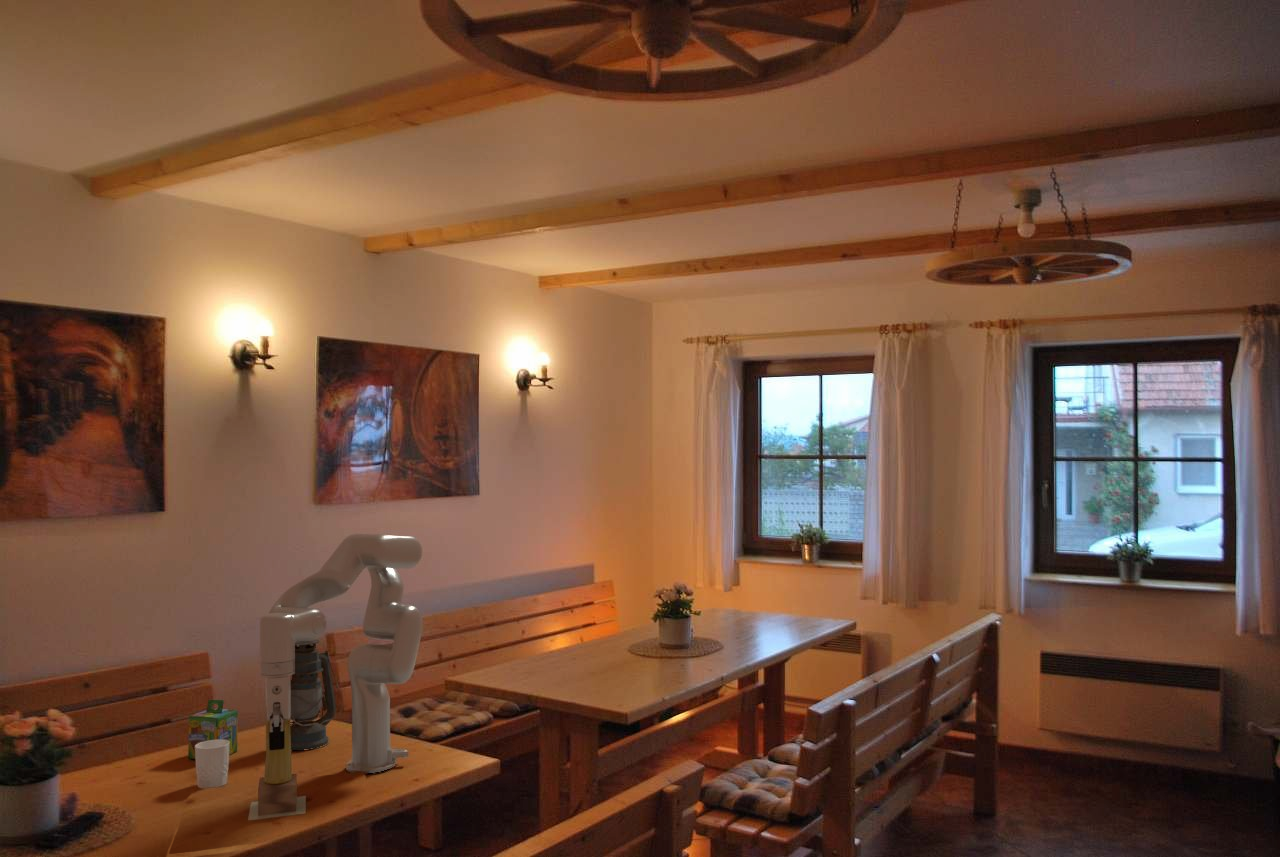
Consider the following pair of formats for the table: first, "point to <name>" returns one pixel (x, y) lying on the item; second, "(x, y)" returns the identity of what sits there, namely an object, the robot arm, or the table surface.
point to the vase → (278, 758)
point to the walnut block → (277, 797)
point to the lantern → (311, 697)
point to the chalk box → (213, 727)
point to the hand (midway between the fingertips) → (277, 743)
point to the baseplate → (299, 810)
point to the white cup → (212, 763)
